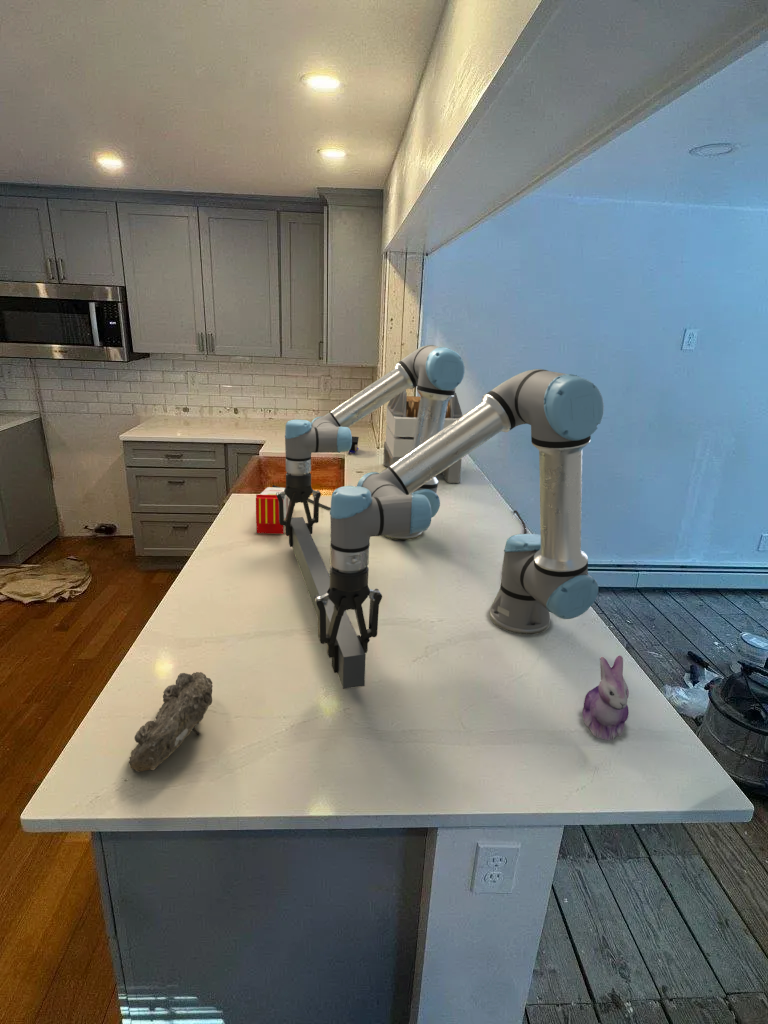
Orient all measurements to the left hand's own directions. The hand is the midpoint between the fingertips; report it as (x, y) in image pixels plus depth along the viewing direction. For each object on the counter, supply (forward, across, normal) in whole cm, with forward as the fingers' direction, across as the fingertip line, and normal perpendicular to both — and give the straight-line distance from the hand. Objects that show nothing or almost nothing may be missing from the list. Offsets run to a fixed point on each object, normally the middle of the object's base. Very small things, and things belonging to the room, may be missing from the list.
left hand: (299, 544), depth 177 cm
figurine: (+4, +46, -90) cm, 101 cm away
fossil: (+4, -33, -73) cm, 80 cm away
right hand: (0, 0, -66) cm, 66 cm away
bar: (+1, 0, -33) cm, 33 cm away
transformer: (+4, +71, +85) cm, 111 cm away
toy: (+4, -4, +33) cm, 34 cm away
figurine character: (+4, +49, +130) cm, 139 cm away
